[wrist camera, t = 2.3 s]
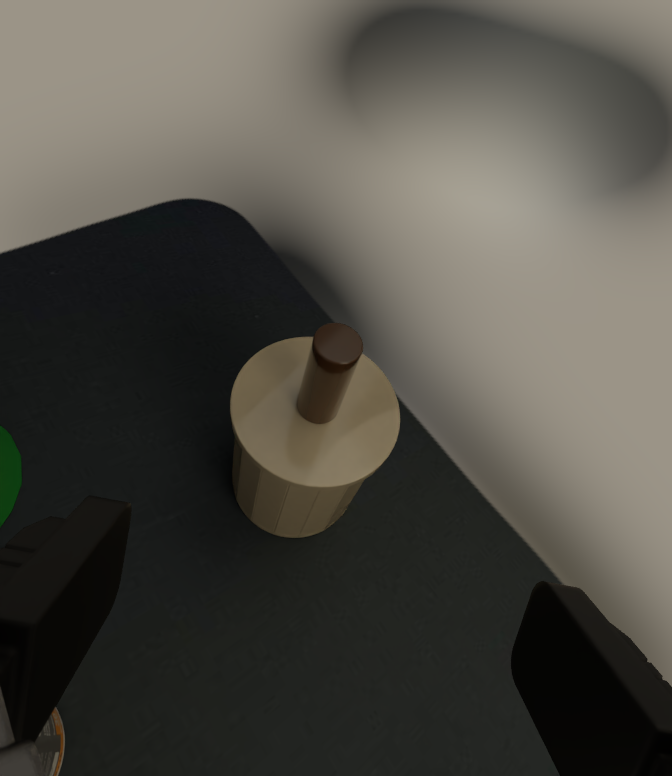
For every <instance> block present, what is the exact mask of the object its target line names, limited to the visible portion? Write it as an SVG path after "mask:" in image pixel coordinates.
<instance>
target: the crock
mask: <svg viewBox="0 0 672 776" xmlns="http://www.w3.org/2000/svg"><path fill="white" fill-rule="evenodd" d="M363 481H364V480H363ZM363 481H361V482H358V483H356V484H354V485H352V486H348V487H345V488H342V489H336V490H330V491H314V490H305V489H300V488H296V487H293V486H290V485H287V484H284V483H282V482H280V481H278V480H276V479H274V478H272V477H270V476H269V475H267V474H266V473H264V472H263V471H262V470H260V469H259V468H258V467H257V466H256V465H255V464H254V463H253V462H252V461H251V460H250V459H249V458H248V457H247V456H246V454H245V453H244V451H243V450H242V448H241V447H240V445H239V443H238V441H237V439H236V437H235V443H234V455H233V467H232V482H233V489H234V494H235V497H236V500H237V502H238V504H239V506H240V508H241V509H242V511H243V512H244V514H245V515H246V516H247V517H248V518H249V519H250V520H251V521H252V522H253V523H254V524H255V525H257V526H258V527H260V528H261V529H263V530H265V531H267V532H269V533H271V534H274V535H277V536H282V537H289V538H301V537H307V536H311V535H314V534H317V533H319V532H322V531H324V530H325V529H327V528H328V527H330V526H331V525H332V524H334V523H335V522H336V521H337V520H338V519H339V518H340V517H341V516H342V515H343V513H344V512H345V510H346V508H347V507H348V505H349V504H350V502H351V500H352V499H353V497H354V496H355V494H356V492H357V491H358V489H359V488H360V486H361V484H362V483H363Z"/></svg>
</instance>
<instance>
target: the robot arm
mask: <svg viewBox="0 0 672 776" xmlns="http://www.w3.org/2000/svg"><path fill="white" fill-rule="evenodd" d="M130 519H131V504H130V503H127V502H122V501H117V500H111V499H106V498H101V497H95V496H88V497H86V498H85V499H84V500H83V502H82V503H81V504H80V505H79V506H78V507H77V508H76V509H75V510H74V511H73V512H72V513H71V514H70V515H69V516H68V517H67V518H66V519H63V518H57V517H52V516H50V517H48V518H46V519H43V520H41V521H39V522H36V523H34V524H32V525H29V526H27V527H25V528H23V529H22V530H21V531H20V532H19V533H18V534H17V535H15V536H14V537H13V538H12V539H11V540H10V541H9V542H8V543H7V544H6V546H5V548H1V549H0V776H45V773H44V770H43V766H42V763H41V760H40V757H39V754H38V751H37V748H36V746H35V744H34V743H35V741H36V740H37V738H38V736H39V735H40V733H41V731H42V729H43V728H44V726H45V724H46V722H47V721H48V719H49V717H50V715H51V714H52V712H53V710H54V708H55V707H56V705H57V703H58V702H59V700H60V698H61V696H62V695H63V693H64V691H65V689H66V688H67V686H68V684H69V682H70V681H71V679H72V677H73V675H74V674H75V672H76V670H77V669H78V667H79V665H80V663H81V662H82V660H83V658H84V656H85V655H86V653H87V651H88V649H89V648H90V646H91V644H92V642H93V641H94V639H95V637H96V636H97V634H98V632H99V630H100V629H101V627H102V625H103V623H104V622H105V620H106V618H107V616H108V615H109V613H110V611H111V609H112V606H113V604H114V601H115V598H116V595H117V592H118V588H119V584H120V580H121V574H122V568H123V562H124V556H125V550H126V544H127V538H128V531H129V525H130ZM511 669H512V675H513V679H514V682H515V685H516V687H517V689H518V691H519V693H520V695H521V697H522V699H523V701H524V703H525V705H526V707H527V709H528V711H529V713H530V715H531V717H532V719H533V722H534V724H535V726H536V728H537V730H538V732H539V734H540V736H541V738H542V740H543V742H544V744H545V746H546V748H547V750H548V752H549V754H550V756H551V758H552V760H553V762H554V764H555V766H556V768H557V770H558V772H559V775H560V776H672V687H671V686H670V685H669V683H668V682H667V681H664V680H662V675H661V674H660V673H659V672H658V670H657V669H656V668H655V667H654V666H653V665H652V663H649V662H647V658H646V657H645V655H644V654H643V653H642V652H641V651H640V650H639V648H638V647H637V646H636V645H635V644H634V643H633V641H632V640H631V639H630V638H629V637H628V636H626V635H625V634H624V633H622V632H621V631H620V630H619V629H617V628H616V627H615V626H614V625H612V624H611V623H610V622H609V621H608V620H607V619H606V618H605V617H604V615H603V614H602V613H601V612H600V611H599V609H598V608H597V607H596V606H595V605H594V603H593V602H592V601H591V600H590V599H589V598H588V596H587V595H586V594H585V593H584V592H583V591H582V590H581V589H579V588H576V587H571V586H566V585H560V584H555V583H550V582H544V581H541V582H539V583H537V584H536V586H535V587H534V589H533V591H532V593H531V596H530V599H529V602H528V605H527V608H526V611H525V614H524V617H523V620H522V623H521V626H520V628H519V631H518V634H517V637H516V640H515V643H514V646H513V650H512V657H511Z"/></svg>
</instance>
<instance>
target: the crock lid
mask: <svg viewBox="0 0 672 776" xmlns="http://www.w3.org/2000/svg"><path fill="white" fill-rule="evenodd" d="M362 352H363V343H362V340H361V337H360V336H359V334H358V333H357V332H356V331H355V330H354V329H352V328H351V327H349V326H347V325H344V324H341V323H329V324H326V325H324V326H322V327H320V328H319V329H318V330H317V331H316V332H315V334H314V337H297V338H291V339H286V340H282V341H279V342H276V343H274V344H272V345H269V346H267V347H265V348H264V349H262V350H261V351H259V352H258V353H256V354H255V355H254V356H253V357H252V358H250V359H249V361H248V362H247V363H246V364H245V365H244V366H243V368H242V369H241V371H240V372H239V374H238V376H237V378H236V380H235V382H234V385H233V388H232V392H231V399H230V419H231V425H232V428H233V432H234V435H235V437H236V439H237V441H238V443H239V445H240V447H241V448H242V450H243V451H244V453H245V454H246V456H247V457H248V458H249V459H250V460H251V461H252V462H253V463H254V464H255V465H256V466H257V467H258V468H259V469H260V470H262V471H263V472H264V473H266V474H267V475H269V476H270V477H272V478H274V479H276V480H278V481H280V482H282V483H284V484H287V485H290V486H293V487H296V488H300V489H305V490H314V491H330V490H336V489H342V488H345V487H348V486H352V485H354V484H356V483H358V482H361V481H363V480H364V479H366V478H367V477H369V476H370V475H372V474H373V473H374V472H375V471H376V470H378V469H379V468H380V466H381V465H382V464H383V463H384V462H385V461H386V459H387V458H388V456H389V454H390V453H391V451H392V449H393V447H394V445H395V443H396V440H397V437H398V433H399V427H400V410H399V405H398V401H397V398H396V395H395V392H394V390H393V388H392V386H391V383H390V382H389V380H388V379H387V377H386V376H385V374H384V373H383V372H382V371H381V370H380V368H379V367H378V366H377V365H376V364H375V363H374V362H372V360H370V359H369V358H368V357H366V356H365V355H364V354H362Z"/></svg>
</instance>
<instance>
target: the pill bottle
mask: <svg viewBox="0 0 672 776" xmlns="http://www.w3.org/2000/svg"><path fill="white" fill-rule="evenodd" d="M34 744H35V746H36V748H37V751H38V754H39V757H40V760H41V763H42V766H43V770H44V773H45V776H58V774H59V771H60V768H61V765H62V761H63V756H64V747H65V734H64V728H63V723H62V720H61V717H60V714H59V712H58V710H57V708H56V707H55V708H54V710H53V712H52V714H51V715H50V717H49V719H48V721H47V722H46V724H45V726H44V728H43V729H42V731H41V733H40V735H39V736H38V738H37V740H36V741H35V743H34Z"/></svg>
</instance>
